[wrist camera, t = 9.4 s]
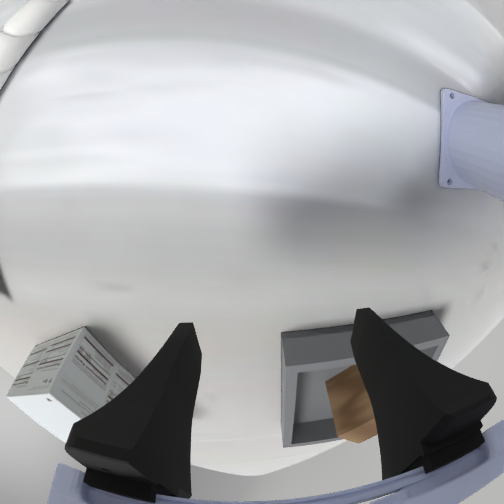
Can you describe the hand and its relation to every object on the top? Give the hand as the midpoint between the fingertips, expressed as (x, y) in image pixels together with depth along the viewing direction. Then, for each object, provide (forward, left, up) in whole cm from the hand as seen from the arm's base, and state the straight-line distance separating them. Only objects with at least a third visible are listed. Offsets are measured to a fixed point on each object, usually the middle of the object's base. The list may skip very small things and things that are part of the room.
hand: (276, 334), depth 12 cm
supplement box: (+22, +18, -10) cm, 30 cm away
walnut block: (-9, +17, -9) cm, 21 cm away
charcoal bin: (-9, +18, -9) cm, 22 cm away
